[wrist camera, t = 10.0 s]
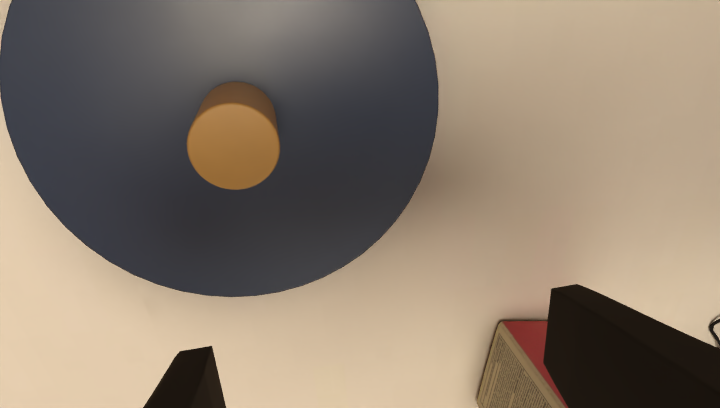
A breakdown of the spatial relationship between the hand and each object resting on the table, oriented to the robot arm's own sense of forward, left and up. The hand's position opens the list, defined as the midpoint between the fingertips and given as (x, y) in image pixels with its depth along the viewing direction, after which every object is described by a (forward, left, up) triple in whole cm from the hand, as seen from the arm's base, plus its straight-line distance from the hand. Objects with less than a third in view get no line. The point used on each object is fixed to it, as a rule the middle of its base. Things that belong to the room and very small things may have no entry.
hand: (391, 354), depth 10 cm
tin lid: (+4, -3, -9) cm, 10 cm away
